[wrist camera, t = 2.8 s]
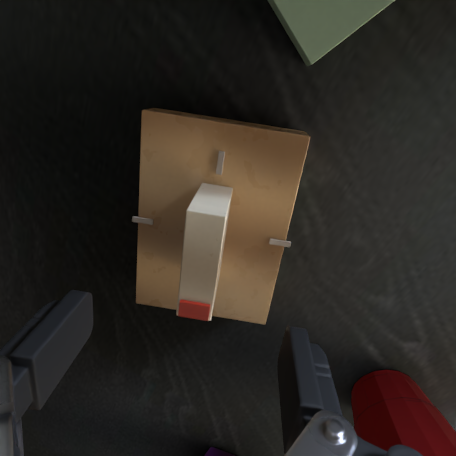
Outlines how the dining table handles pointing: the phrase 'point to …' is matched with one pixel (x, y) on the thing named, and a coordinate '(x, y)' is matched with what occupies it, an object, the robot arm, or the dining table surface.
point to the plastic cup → (399, 415)
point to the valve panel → (239, 209)
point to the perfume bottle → (217, 452)
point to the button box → (323, 22)
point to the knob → (203, 250)
